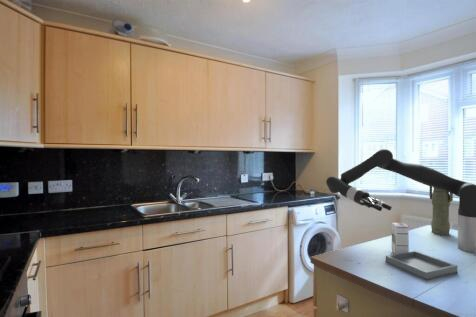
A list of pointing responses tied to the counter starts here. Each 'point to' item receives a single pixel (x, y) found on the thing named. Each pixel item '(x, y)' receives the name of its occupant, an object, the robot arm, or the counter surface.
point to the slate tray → (421, 265)
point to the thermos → (440, 211)
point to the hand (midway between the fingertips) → (386, 208)
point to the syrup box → (400, 238)
